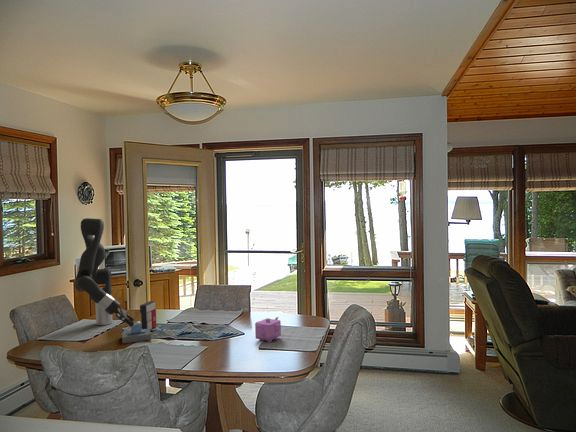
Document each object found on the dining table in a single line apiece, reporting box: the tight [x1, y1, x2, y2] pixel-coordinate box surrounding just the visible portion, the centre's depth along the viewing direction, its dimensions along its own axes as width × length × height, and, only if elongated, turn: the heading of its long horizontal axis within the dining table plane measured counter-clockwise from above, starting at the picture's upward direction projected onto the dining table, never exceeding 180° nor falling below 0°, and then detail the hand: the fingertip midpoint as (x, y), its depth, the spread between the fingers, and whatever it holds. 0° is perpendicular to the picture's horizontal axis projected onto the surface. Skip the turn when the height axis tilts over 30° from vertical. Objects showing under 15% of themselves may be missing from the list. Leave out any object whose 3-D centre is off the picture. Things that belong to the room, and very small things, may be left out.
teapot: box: [254, 316, 282, 343], centre depth 230 cm, size 15×13×11 cm
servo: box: [126, 320, 145, 335], centre depth 238 cm, size 4×9×9 cm, turn 109°
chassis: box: [121, 328, 152, 344], centre depth 238 cm, size 12×14×3 cm
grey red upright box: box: [139, 300, 157, 330], centre depth 255 cm, size 11×4×15 cm, turn 168°
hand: (132, 323), depth 238 cm, fingers open, 8 cm apart
